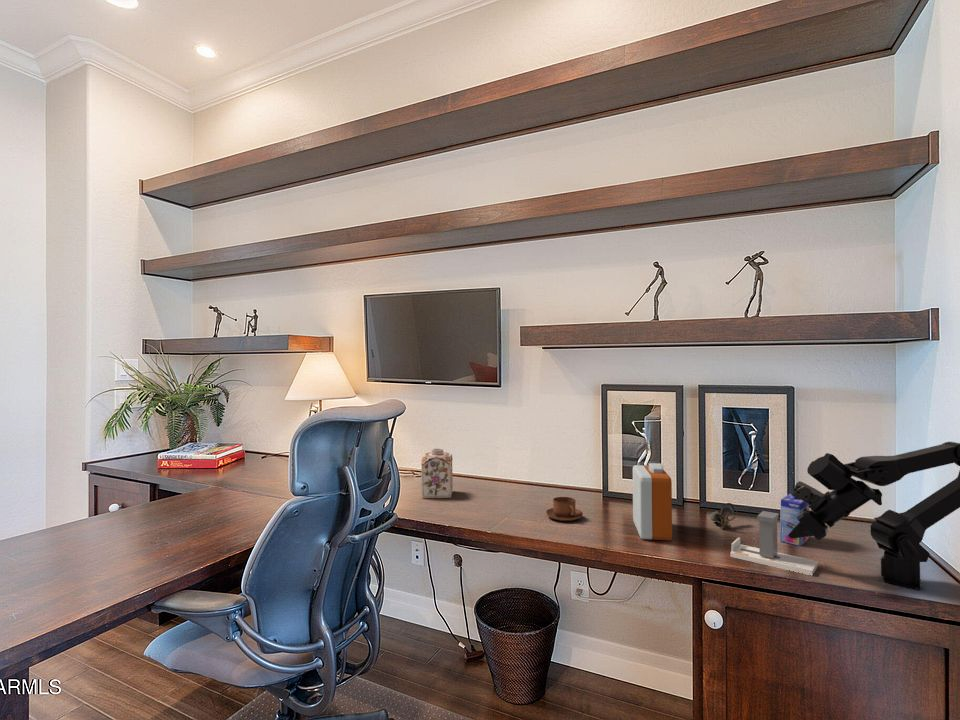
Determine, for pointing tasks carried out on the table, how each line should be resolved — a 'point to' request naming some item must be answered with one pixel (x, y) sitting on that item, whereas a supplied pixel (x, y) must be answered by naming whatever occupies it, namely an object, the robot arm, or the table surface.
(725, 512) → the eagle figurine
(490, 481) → the table surface
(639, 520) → the alarm clock
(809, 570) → the switch unit
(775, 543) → the switch knob
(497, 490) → the table surface
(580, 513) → the cup and saucer
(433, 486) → the decorative jar
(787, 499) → the ink cartridge box
